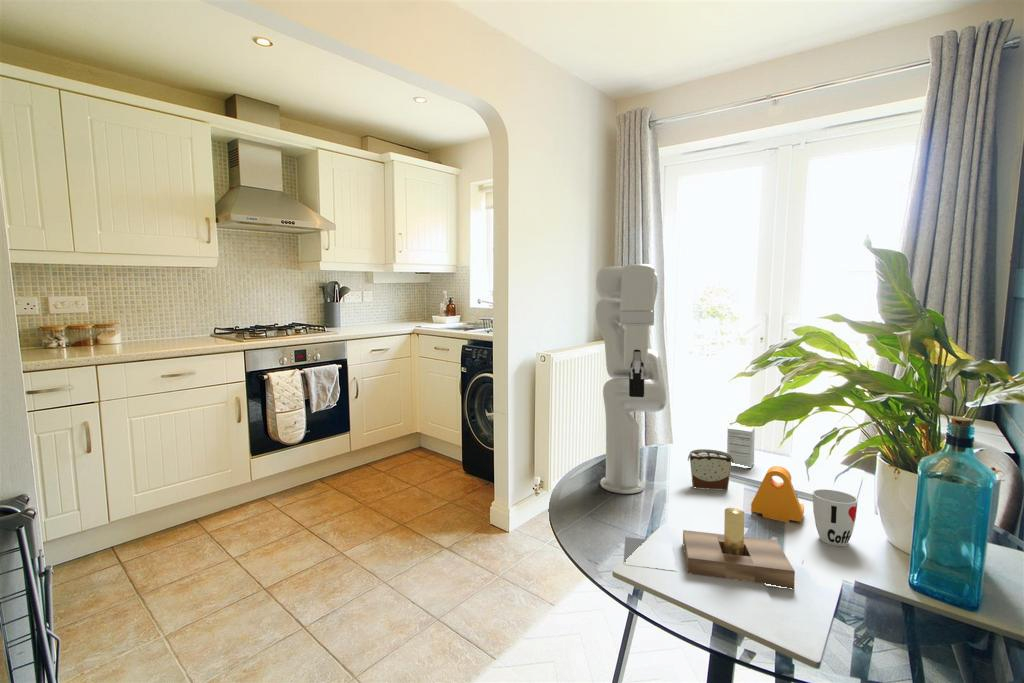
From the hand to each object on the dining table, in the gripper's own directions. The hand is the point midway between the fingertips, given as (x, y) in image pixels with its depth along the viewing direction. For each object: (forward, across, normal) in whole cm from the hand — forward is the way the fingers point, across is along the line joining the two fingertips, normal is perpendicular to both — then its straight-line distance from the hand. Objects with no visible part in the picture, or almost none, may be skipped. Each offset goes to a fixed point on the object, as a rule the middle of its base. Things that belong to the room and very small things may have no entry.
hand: (636, 392), depth 109 cm
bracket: (+32, -14, +35) cm, 49 cm away
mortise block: (+31, +14, +19) cm, 39 cm away
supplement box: (+33, -54, +35) cm, 72 cm away
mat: (+31, +14, +3) cm, 34 cm away
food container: (+33, -32, +21) cm, 50 cm away
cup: (+32, -2, +42) cm, 53 cm away
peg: (+31, +14, +19) cm, 39 cm away
